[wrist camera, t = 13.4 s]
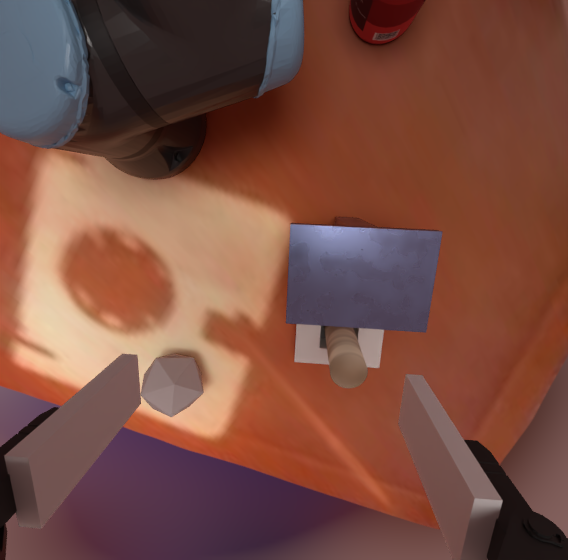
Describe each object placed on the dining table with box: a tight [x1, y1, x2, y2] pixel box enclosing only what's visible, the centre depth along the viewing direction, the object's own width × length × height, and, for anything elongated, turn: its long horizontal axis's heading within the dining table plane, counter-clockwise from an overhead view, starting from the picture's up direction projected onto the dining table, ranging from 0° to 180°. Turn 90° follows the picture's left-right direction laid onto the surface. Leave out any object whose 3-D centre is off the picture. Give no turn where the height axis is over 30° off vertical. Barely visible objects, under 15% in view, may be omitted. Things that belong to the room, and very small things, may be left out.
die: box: [141, 354, 203, 417], centre depth 50 cm, size 8×9×10 cm
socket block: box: [294, 324, 384, 368], centre depth 47 cm, size 12×14×4 cm
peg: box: [324, 326, 368, 388], centre depth 42 cm, size 4×4×14 cm
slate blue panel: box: [286, 217, 442, 332], centre depth 39 cm, size 14×10×16 cm
